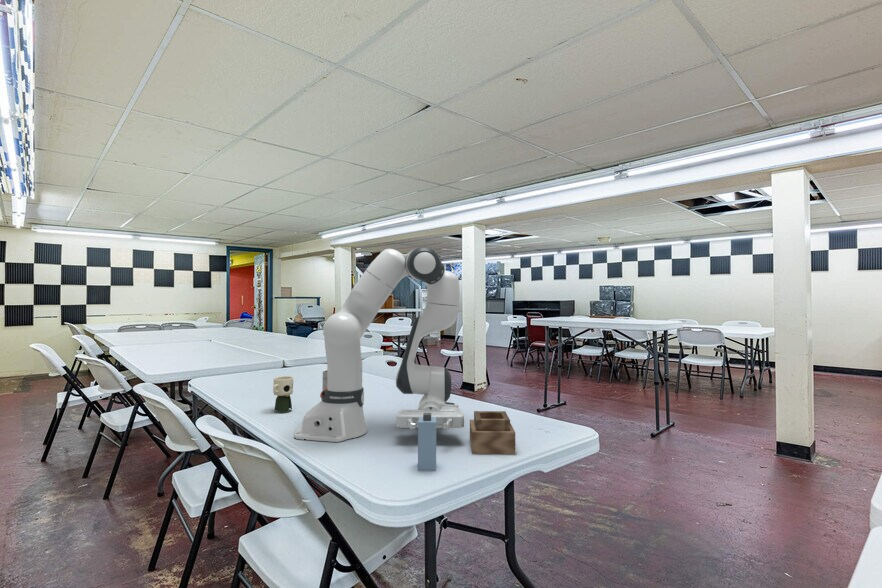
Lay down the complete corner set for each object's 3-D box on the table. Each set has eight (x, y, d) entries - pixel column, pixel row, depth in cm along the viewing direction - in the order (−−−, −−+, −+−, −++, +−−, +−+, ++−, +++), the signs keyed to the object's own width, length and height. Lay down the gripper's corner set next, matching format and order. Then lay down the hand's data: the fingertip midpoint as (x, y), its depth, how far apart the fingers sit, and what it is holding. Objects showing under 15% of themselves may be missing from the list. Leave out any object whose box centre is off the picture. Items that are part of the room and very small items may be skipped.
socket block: (472, 454, 114) (472, 421, 114) (469, 439, 126) (469, 410, 126) (515, 454, 114) (515, 421, 114) (508, 439, 126) (508, 410, 126)
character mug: (281, 416, 152) (281, 380, 152) (265, 414, 154) (265, 379, 154) (300, 408, 162) (300, 375, 162) (284, 407, 164) (285, 374, 165)
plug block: (417, 470, 103) (417, 416, 103) (419, 463, 107) (419, 411, 108) (435, 470, 103) (435, 416, 103) (436, 463, 107) (436, 411, 108)
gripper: (398, 403, 130) (392, 415, 116) (462, 403, 129) (464, 415, 116) (398, 423, 130) (392, 437, 116) (462, 423, 129) (464, 438, 116)
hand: (429, 426), depth 116 cm, fingers open, 8 cm apart
